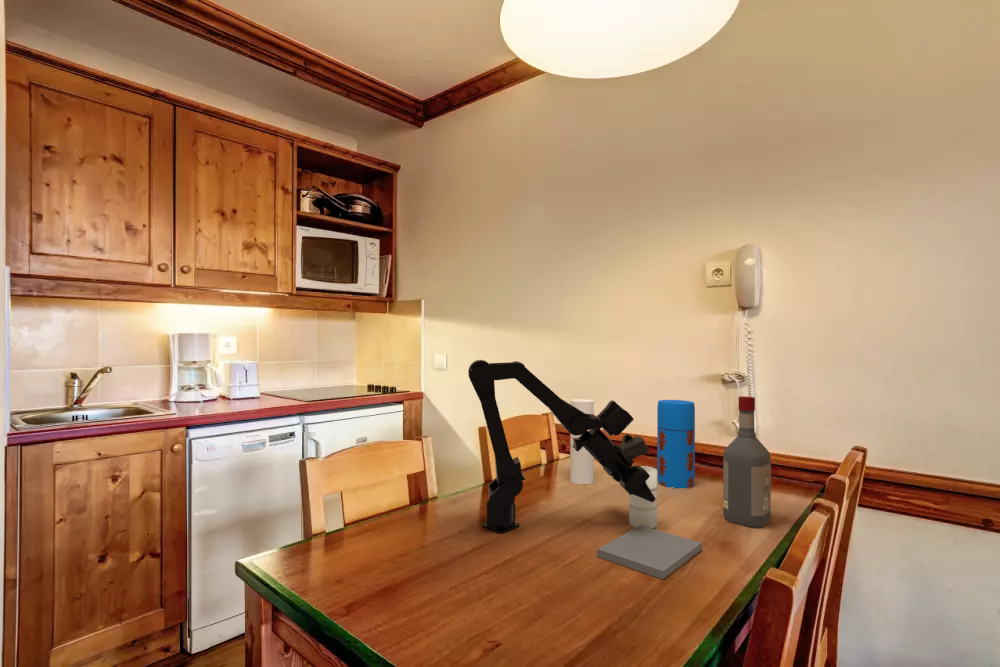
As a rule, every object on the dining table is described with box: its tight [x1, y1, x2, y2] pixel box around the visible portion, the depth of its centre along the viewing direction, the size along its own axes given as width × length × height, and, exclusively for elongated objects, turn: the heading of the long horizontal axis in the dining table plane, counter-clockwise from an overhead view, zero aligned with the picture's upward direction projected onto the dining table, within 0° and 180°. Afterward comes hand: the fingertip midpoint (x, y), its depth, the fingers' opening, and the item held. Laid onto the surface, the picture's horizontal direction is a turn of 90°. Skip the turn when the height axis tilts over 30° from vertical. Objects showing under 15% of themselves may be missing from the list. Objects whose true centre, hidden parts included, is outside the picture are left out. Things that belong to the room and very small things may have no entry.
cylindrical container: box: [569, 398, 595, 485], centre depth 155 cm, size 7×7×25 cm
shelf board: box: [596, 525, 703, 580], centre depth 103 cm, size 18×14×2 cm
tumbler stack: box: [628, 465, 658, 529], centre depth 119 cm, size 6×6×13 cm
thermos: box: [656, 399, 696, 489], centre depth 153 cm, size 11×11×25 cm
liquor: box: [722, 395, 772, 528], centre depth 122 cm, size 9×9×30 cm
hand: (648, 496), depth 119 cm, fingers closed on tumbler stack, 6 cm apart
